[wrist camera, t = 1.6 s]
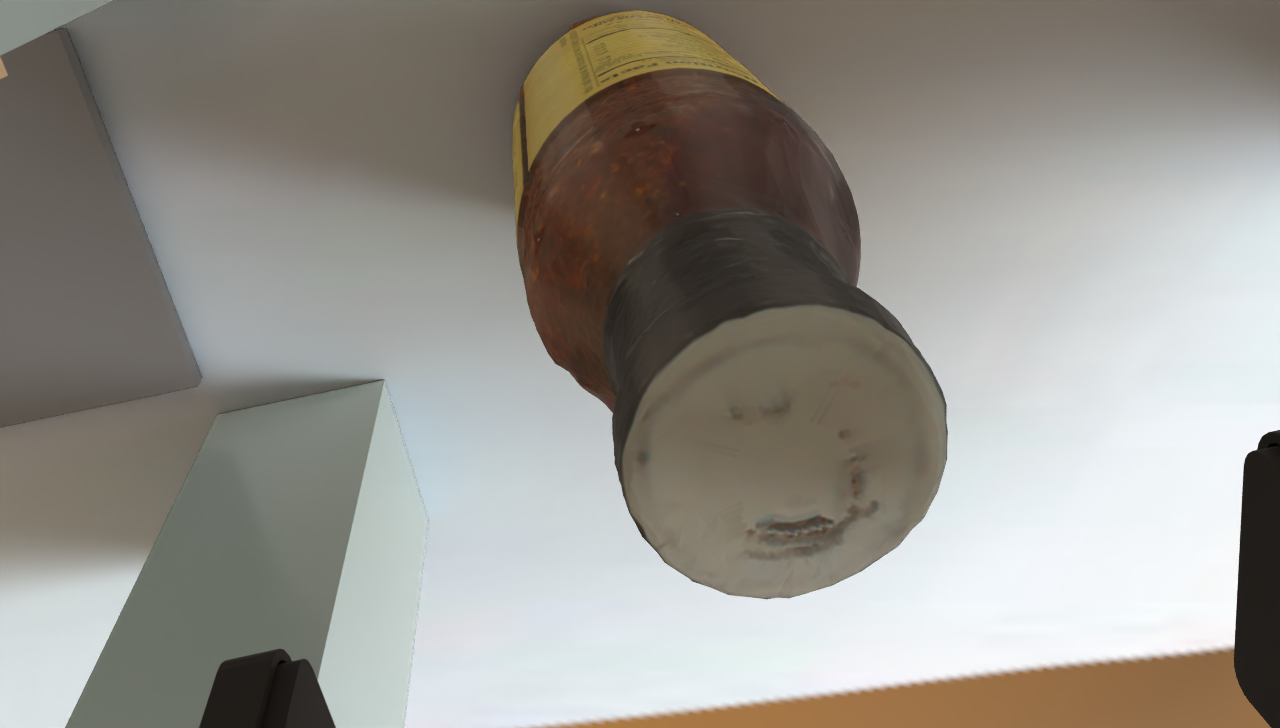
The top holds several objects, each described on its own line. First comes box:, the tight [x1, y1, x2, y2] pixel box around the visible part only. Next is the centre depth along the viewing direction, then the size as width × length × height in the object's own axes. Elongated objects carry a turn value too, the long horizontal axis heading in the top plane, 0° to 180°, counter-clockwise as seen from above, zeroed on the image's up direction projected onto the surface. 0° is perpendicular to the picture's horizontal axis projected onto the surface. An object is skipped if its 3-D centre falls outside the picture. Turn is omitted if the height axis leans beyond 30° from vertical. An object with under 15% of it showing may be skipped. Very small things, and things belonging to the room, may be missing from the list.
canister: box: [65, 380, 429, 728], centre depth 28 cm, size 5×5×17 cm
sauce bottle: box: [512, 10, 948, 599], centre depth 23 cm, size 6×6×20 cm
